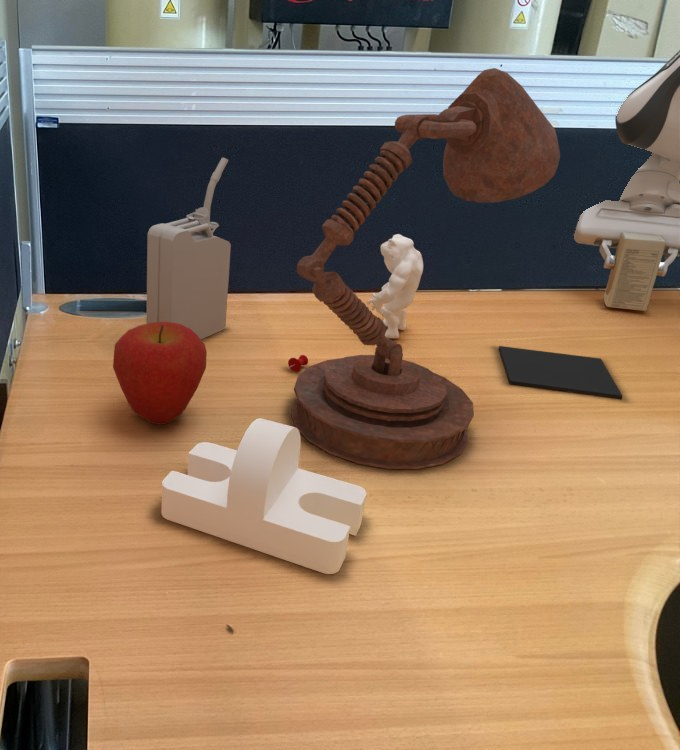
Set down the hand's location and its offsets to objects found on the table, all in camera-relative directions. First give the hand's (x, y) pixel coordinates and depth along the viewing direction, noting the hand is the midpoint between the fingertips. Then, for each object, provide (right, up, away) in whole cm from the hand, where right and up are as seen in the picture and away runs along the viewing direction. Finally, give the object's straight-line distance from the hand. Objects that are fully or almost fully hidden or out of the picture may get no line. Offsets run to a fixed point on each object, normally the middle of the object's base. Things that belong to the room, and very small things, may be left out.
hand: (634, 270), depth 127 cm
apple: (-79, -23, -35) cm, 89 cm away
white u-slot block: (-68, -32, -52) cm, 92 cm away
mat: (-23, -17, -20) cm, 35 cm away
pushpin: (-60, -17, -23) cm, 67 cm away
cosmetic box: (0, -6, +3) cm, 7 cm away
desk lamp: (-51, -23, -34) cm, 65 cm away
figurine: (-44, -11, -10) cm, 46 cm away
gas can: (-74, -11, -12) cm, 76 cm away
